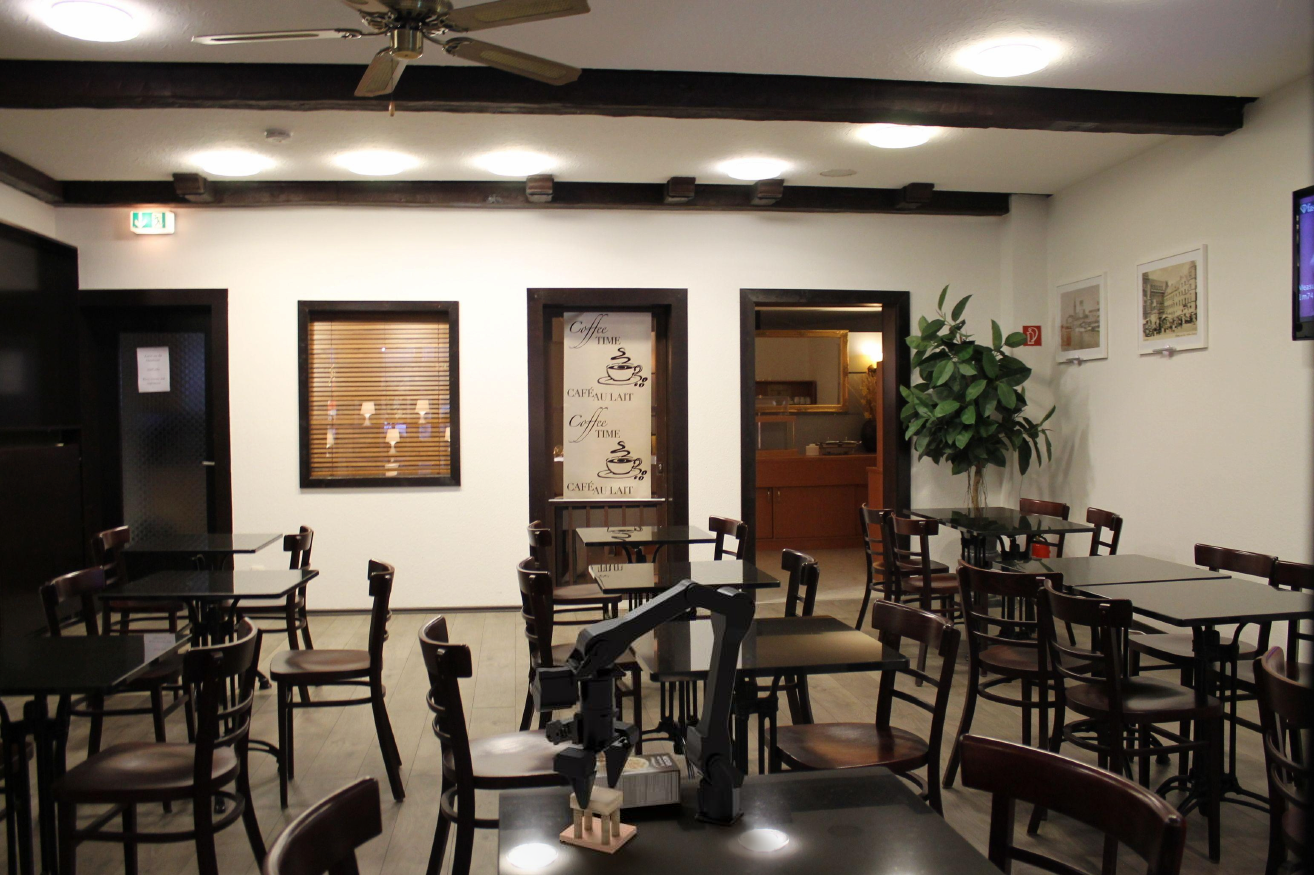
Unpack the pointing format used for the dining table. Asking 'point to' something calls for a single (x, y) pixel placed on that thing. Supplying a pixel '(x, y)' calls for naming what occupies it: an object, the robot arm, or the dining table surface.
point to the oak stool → (602, 804)
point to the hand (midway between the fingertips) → (597, 798)
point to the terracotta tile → (598, 836)
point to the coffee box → (645, 780)
